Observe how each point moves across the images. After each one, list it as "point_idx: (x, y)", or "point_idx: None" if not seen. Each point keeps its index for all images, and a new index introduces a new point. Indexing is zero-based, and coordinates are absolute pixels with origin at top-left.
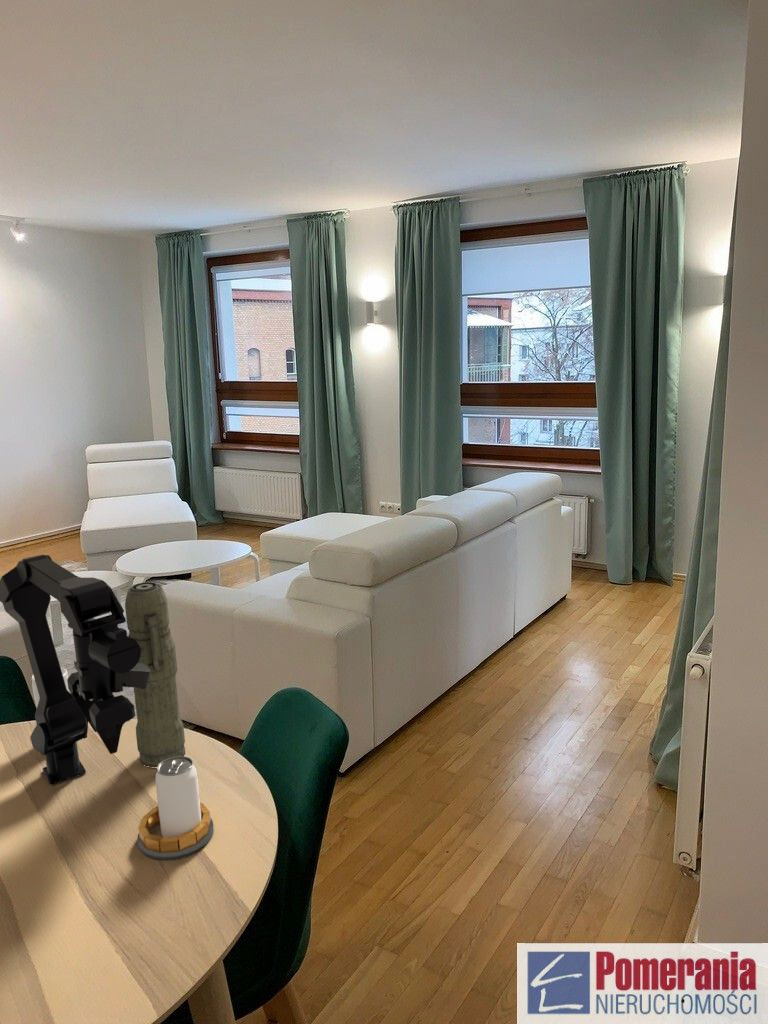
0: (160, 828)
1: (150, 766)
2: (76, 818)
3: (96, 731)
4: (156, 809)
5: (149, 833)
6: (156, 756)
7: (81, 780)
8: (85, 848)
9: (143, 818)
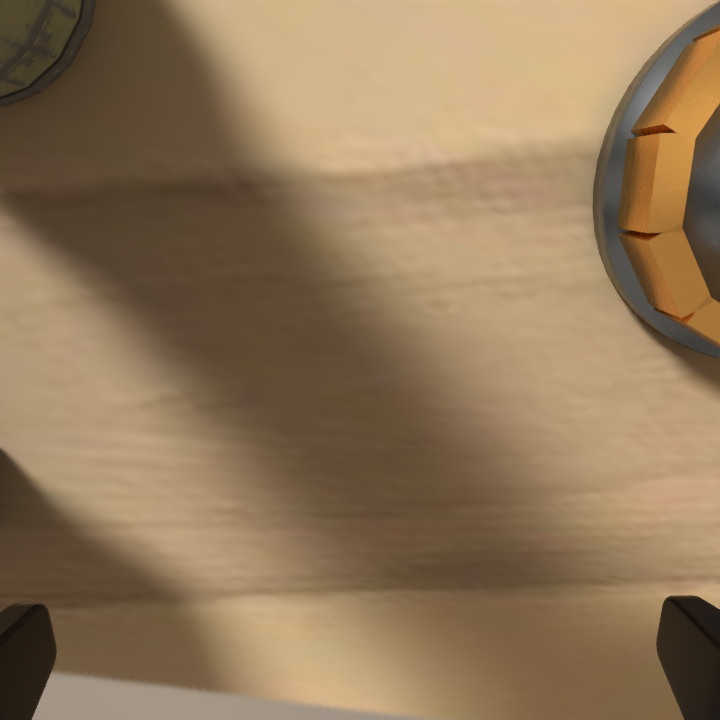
0: (715, 239)
1: (57, 71)
2: (324, 500)
3: (53, 649)
4: (672, 233)
5: (711, 297)
6: (44, 11)
7: (13, 416)
8: (555, 517)
9: (699, 319)
